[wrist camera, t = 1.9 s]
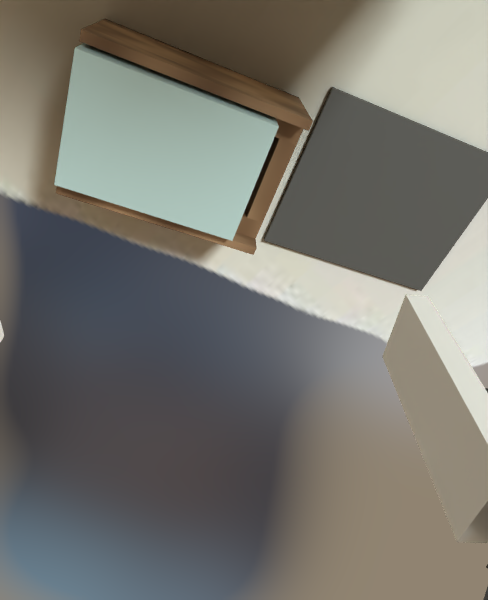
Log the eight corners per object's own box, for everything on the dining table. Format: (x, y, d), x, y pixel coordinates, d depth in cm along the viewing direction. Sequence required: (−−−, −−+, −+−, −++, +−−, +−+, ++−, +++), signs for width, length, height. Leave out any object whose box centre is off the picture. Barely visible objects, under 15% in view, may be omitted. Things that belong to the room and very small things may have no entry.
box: (79, 160, 36) (55, 193, 31) (105, 18, 30) (81, 29, 25) (249, 216, 39) (253, 254, 34) (298, 97, 34) (312, 121, 29)
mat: (264, 238, 40) (264, 240, 40) (332, 86, 33) (333, 88, 33) (419, 288, 44) (421, 290, 44) (510, 161, 37) (512, 163, 37)
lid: (63, 172, 31) (54, 184, 29) (84, 42, 27) (74, 47, 25) (231, 226, 34) (232, 240, 32) (275, 117, 30) (278, 126, 28)
